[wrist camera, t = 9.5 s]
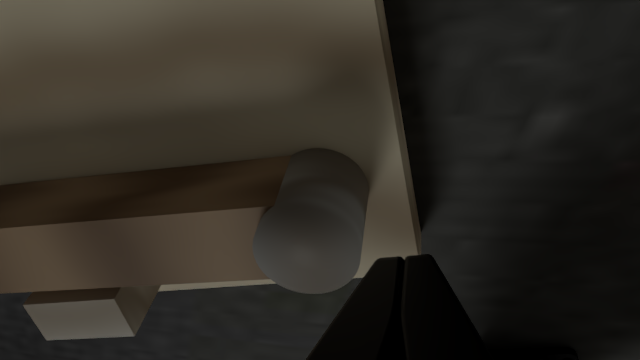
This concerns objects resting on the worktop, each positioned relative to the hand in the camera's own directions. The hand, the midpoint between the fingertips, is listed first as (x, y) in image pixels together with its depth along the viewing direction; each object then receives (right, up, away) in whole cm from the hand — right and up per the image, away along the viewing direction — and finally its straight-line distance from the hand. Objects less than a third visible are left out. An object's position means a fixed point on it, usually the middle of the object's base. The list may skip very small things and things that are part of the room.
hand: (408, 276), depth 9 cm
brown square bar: (-7, +1, +13) cm, 15 cm away
